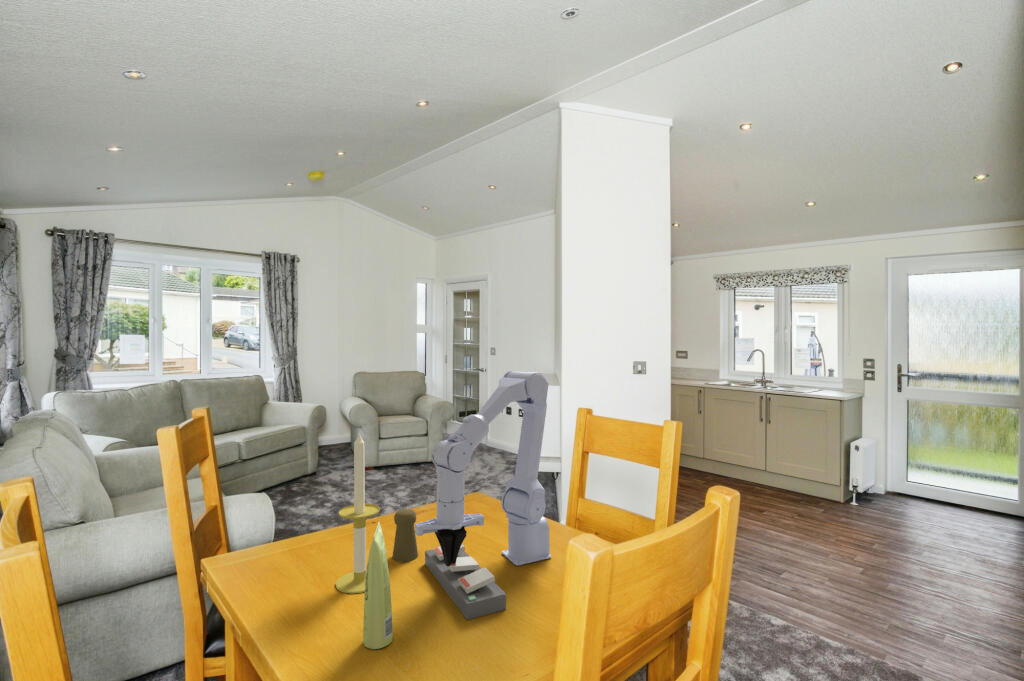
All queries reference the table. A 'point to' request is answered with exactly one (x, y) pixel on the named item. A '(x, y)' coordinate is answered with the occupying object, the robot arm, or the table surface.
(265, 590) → the table surface
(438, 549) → the rocker
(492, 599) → the strip
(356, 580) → the candle
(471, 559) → the rocker
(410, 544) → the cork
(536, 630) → the table surface
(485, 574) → the rocker
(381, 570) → the tube
